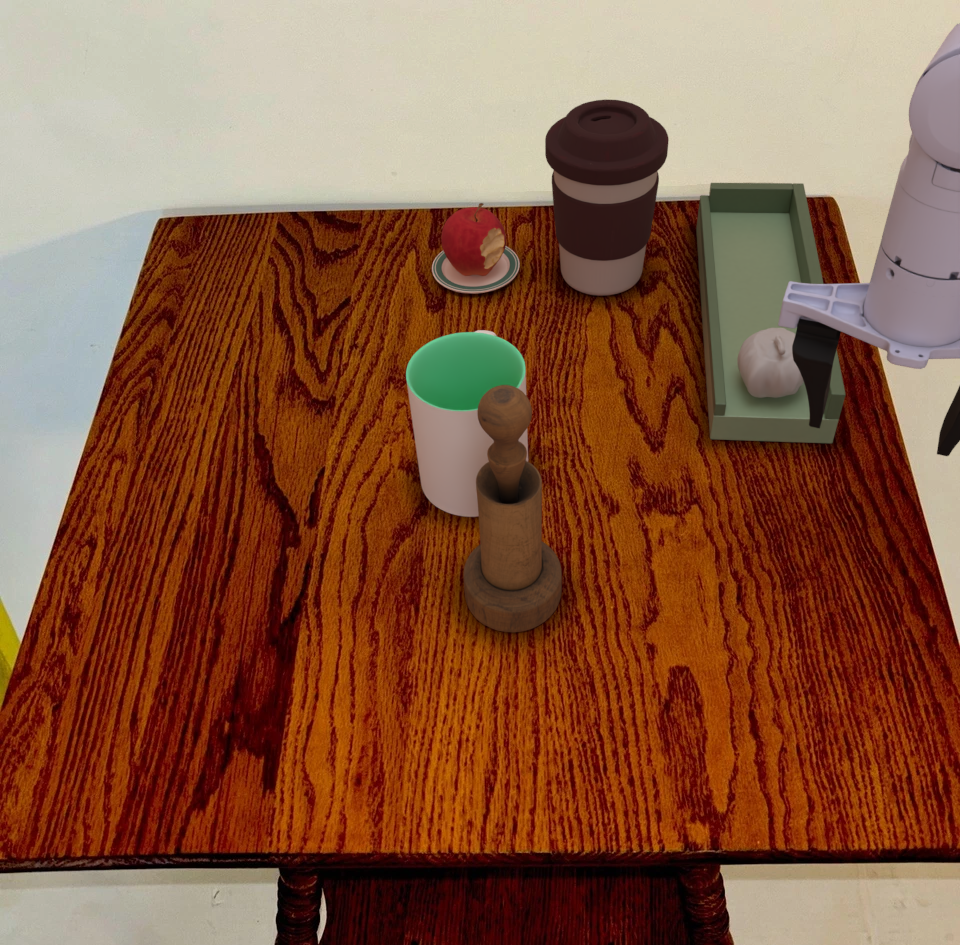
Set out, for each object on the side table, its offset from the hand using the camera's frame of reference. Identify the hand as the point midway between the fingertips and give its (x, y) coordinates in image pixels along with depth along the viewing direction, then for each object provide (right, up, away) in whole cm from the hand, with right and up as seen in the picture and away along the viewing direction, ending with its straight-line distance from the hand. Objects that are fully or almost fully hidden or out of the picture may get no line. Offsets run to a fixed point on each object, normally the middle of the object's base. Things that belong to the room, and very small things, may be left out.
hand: (879, 430), depth 65 cm
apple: (-25, +16, +30) cm, 42 cm away
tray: (-2, +10, +22) cm, 25 cm away
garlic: (-3, +4, +14) cm, 14 cm away
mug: (-25, -2, +14) cm, 29 cm away
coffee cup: (-14, +15, +29) cm, 35 cm away
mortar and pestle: (-23, -11, +5) cm, 26 cm away
